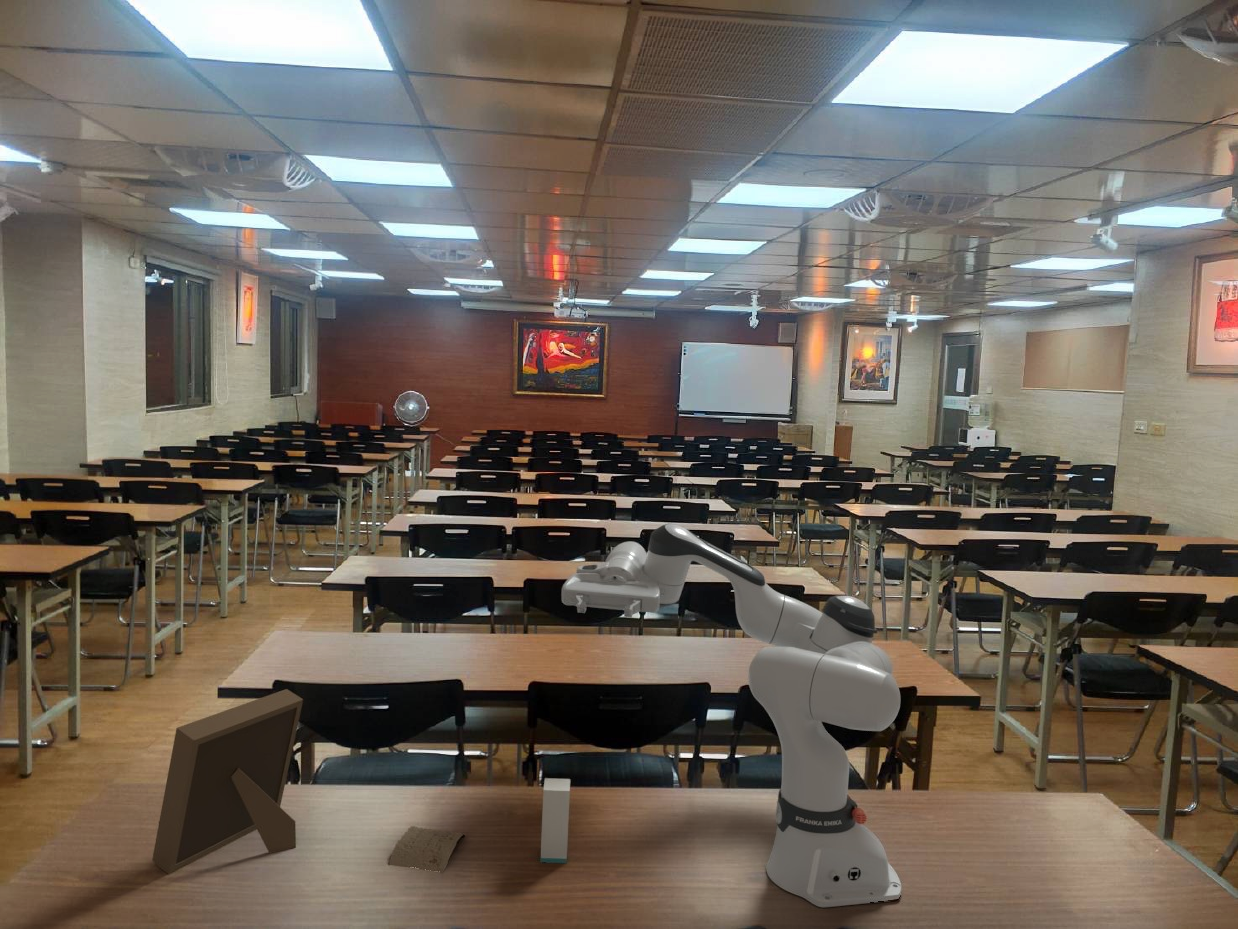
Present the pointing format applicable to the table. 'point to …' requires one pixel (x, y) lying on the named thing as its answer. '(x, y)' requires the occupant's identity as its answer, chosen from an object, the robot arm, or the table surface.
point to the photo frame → (229, 781)
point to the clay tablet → (424, 849)
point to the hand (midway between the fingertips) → (604, 611)
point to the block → (555, 820)
